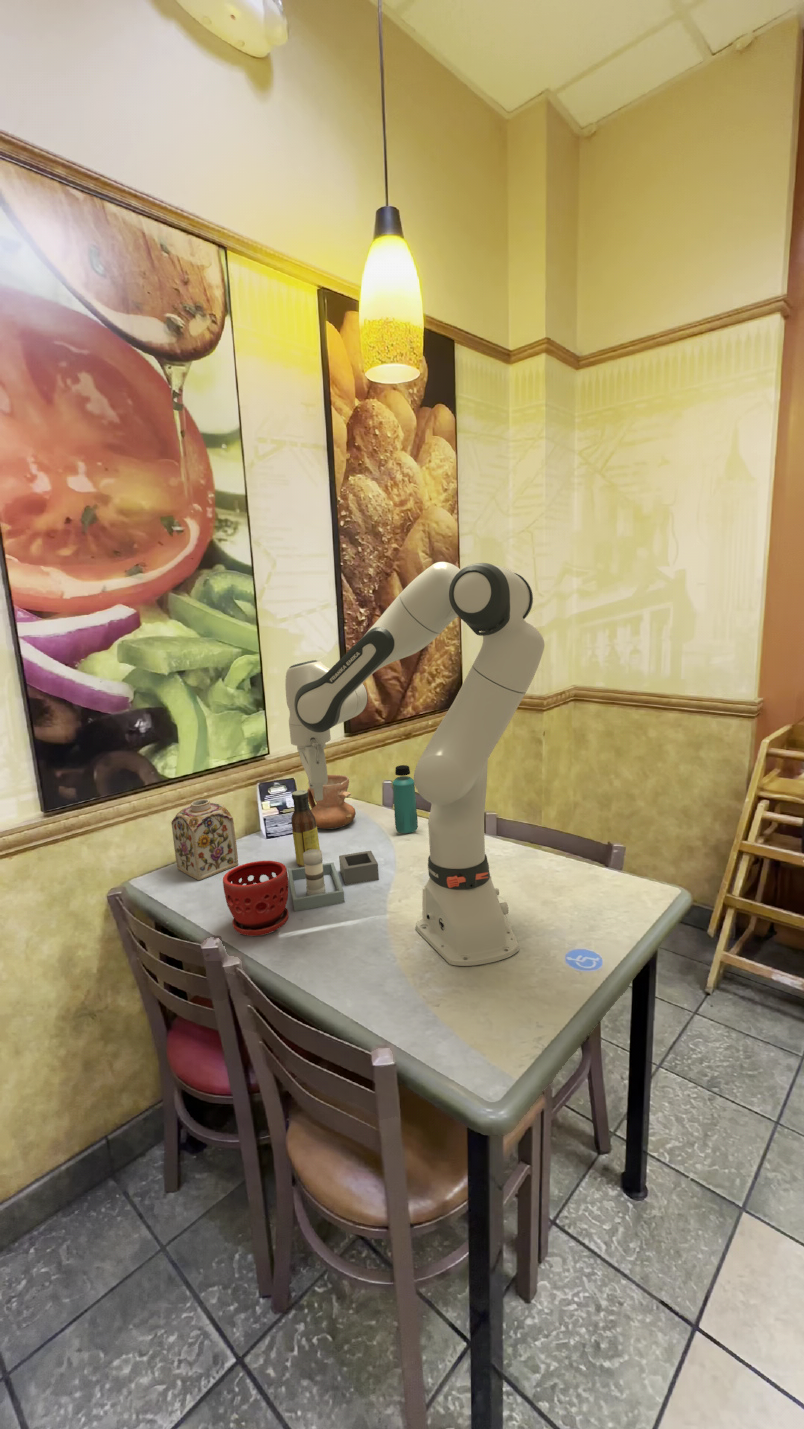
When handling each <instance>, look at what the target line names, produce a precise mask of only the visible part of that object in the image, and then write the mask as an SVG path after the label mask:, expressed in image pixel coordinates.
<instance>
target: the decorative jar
mask: <svg viewBox="0 0 804 1429" xmlns="http://www.w3.org/2000/svg"><path fill="white" fill-rule="evenodd" d="M170 822H171V830H172V838H173V848H174V849H173V850H174V854H175V855H174V856H175V862H176V866H177V870H179V871H180V872H182V873H184V874H186V875H188V876H189V877H191V878H193V879H195V880H196V881H202V880H204V879H207V878H209V877H211V876H214V875H217V874H219V873H222V872H224V871H226V870H231V869H233V868H236V867H238V866H239V854H238V846H237V845H238V844H237V839H236V838H237V837H236V831H235V823H234V822H235V821H234V817H233V816H232V815H231V813H230V811H229V810H228V809H227V808H226V806H225V805H223V804H222V803H221V804H220V803H217V802H210V800H209V799H208V798H207V799H203V798H202V799H197V800H194V801H192V802H191V803H190V805H189V806H186V807H183V808H182V809H180V811H179V812H177V813H176V814H175V817H174V818H173V819H172V820H171V821H170Z"/></svg>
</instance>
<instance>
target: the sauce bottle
mask: <svg viewBox="0 0 804 1429" xmlns="http://www.w3.org/2000/svg"><path fill="white" fill-rule="evenodd" d="M308 796H309V795H308V791H307V790H305V789H299V790H295V791H293V792H292V793H291V798H292V801H293V810H294V811H293V813H292V814H291V818H290V820H291V828H292V829H291V830H292V838H293V846H294V854H295V859H296V860H295V862H296V863H297V867H298V868H301V867H305V865H304V859H303V853H304V852H305V851H308V850H312V849H318V850H321V848H320V841H319V834H318V828H317V824H316V820H315V817H314V815H313V814H312V812H311V807H310V804H309V802H308Z"/></svg>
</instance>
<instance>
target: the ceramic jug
mask: <svg viewBox="0 0 804 1429" xmlns="http://www.w3.org/2000/svg"><path fill="white" fill-rule="evenodd" d="M327 775H328V782H327V784H323V800H321V801H316V800H315V798H314V789H311V788H310V787H309V786H308V788H307V790H306V791H308V795H309V796H308V802H309V807H310V810H311V812H312V814H313V815H314V817H315V820H316V824H317V829H323V830H333V829H339V828H342V827H344V826H347V825H348V824H350V823H352V822H353V821H354V819H355V817H356V814H357V813H356V809H355V807H354V806H352V805H351V804H349V803H348V802H346V801H345V800H346V798H347V799H348V798H349V797H350V796H351V795H352V793H351V792H349V791H348V789H349V785H350V777H349V776H347V775H343V774H327ZM307 784H309V780H308V783H307Z"/></svg>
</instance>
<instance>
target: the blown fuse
mask: <svg viewBox="0 0 804 1429" xmlns="http://www.w3.org/2000/svg"><path fill="white" fill-rule="evenodd" d="M303 859H304V865H305V876H306V878H305V883H306V884H305V885H306V888H305V890H306V896H311V895H316V894H322V893H327V892H326V883H325V878H324V876H325V875H324V874H323V864H324V863H323V851H322V850H321V849H320V850H318V849H312V850H308V851H305V852H304V853H303Z"/></svg>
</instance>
